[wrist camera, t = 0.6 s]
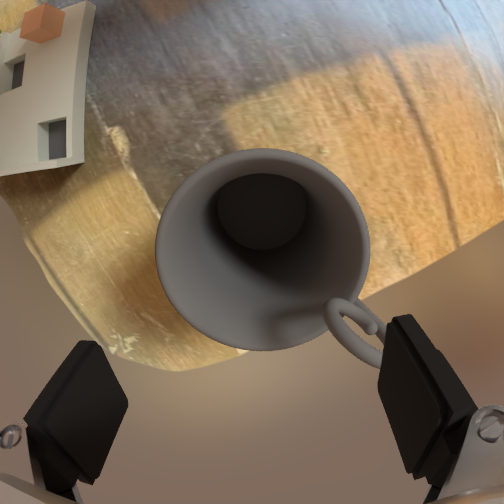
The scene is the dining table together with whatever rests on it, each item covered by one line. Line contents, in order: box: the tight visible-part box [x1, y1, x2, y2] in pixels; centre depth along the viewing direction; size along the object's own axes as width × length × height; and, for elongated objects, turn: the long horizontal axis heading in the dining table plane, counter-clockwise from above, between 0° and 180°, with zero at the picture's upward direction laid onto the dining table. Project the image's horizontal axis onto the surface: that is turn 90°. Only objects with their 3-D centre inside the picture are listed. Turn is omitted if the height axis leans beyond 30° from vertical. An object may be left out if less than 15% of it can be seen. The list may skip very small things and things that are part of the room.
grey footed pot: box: [155, 148, 387, 369], centre depth 25 cm, size 19×15×25 cm
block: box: [19, 3, 65, 44], centre depth 23 cm, size 4×4×5 cm
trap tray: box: [0, 0, 96, 176], centre depth 28 cm, size 24×17×6 cm
